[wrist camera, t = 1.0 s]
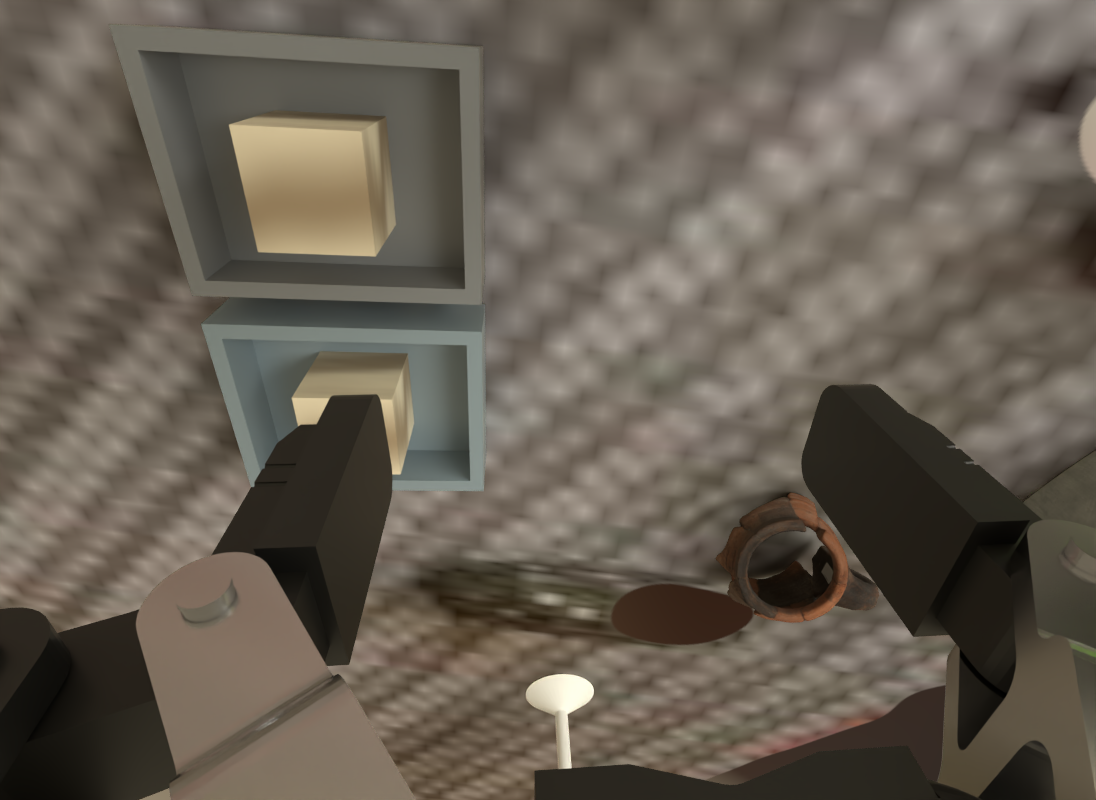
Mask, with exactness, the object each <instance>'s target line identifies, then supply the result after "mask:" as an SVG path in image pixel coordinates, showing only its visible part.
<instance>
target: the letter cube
mask: <svg viewBox="0 0 1096 800" xmlns="http://www.w3.org/2000/svg"><path fill="white" fill-rule="evenodd" d="M364 394H377V395H378V396H379V398H380V401H381V405H382V410H383V416H384V422H385V428H386V434H387V440H388V446H389V452H390V458H391V465H392V474H401V471H402V468H403V464H404V460H405V456H406V452H407V448H408V445H409V441H410V437H411V433H412V429H413V426H414V415H413V404H412V393H411V382H410V371H409V360H408V353H373V352H334V351H320V353H319V354H318V356H317V358H316V359H315V361H314V362H313V364H312V366H311V367H310V369H309V370H308V372H307V374H306V375H305V377H304V379H303V380H302V382H301V383H300V385H299V387H298V388H297V390H296V391H295V393H294V395H293V396H292V402H293V406H294V410H295V415H296V419H297V423H298V426H299V425H304V424H317V422H318V420H319V418H320V416H321V414H322V412H323V410H324V409H325V407H326V405H327V403H328V401H329V399H330V397H331V396H333V395H364Z"/></svg>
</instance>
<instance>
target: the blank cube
mask: <svg viewBox="0 0 1096 800" xmlns="http://www.w3.org/2000/svg"><path fill="white" fill-rule="evenodd" d="M229 128H230V132H231V137H232V141H233V145H234V150H235V154H236V158H237V163H238V167H239V171H240V176H241V180H242V184H243V189H244V193H245V197H246V202H247V206H248V210H249V215H250V219H251V223H252V228H253V232H254V236H255V241H256V245H257V250H258V252H267V253H294V254H321V255H348V256H375V257H376V255H377V254H378V252H379V251H380V249H381V247H382V246H383V244H384V243H385V241H386V240H387V238H388V236H389V235H390V233H391V232H392V230H393V229H394V227H395V225H396V218H395V207H394V197H393V186H392V175H391V164H390V153H389V142H388V131H387V120H386V116H371V115H353V114H335V113H316V112H298V111H280V110H275V111H272V112H268V113H265V114H262V115H258V116H255V117H252V118H249V119H245V120H242V121H239V122H236V123H232V124H229Z"/></svg>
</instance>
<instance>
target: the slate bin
mask: <svg viewBox="0 0 1096 800" xmlns="http://www.w3.org/2000/svg"><path fill="white" fill-rule="evenodd" d="M201 326H202V329H203V332H204V335H205V339H206V342H207V345H208V348H209V352H210V355H211V358H212V361H213V365H214V368H215V371H216V374H217V378H218V381H219V384H220V387H221V391H222V394H223V397H224V400H225V404H226V407H227V410H228V413H229V417H230V420H231V423H232V426H233V430H234V433H235V436H236V439H237V442H238V446H239V449H240V452H241V455H242V459H243V462H244V465H245V468H246V472H247V475H248V478H249V481H250V485H251V487H254V482H255V480H256V478H257V477H258V475H259V473H260V472H261V470H262V469H265V463H266V461H267V460H268V458H269V456H270V455H271V453H272V451H273V449H274V448H275V446H276V444H277V443H278V442H279V441H280V440H282V439H283V438H284V437H285V436H287V435H288V434H289V433H291V432H292V431H293V430H294V429H296V428H297V427H298V423H297V419H296V415H295V410H294V406H293V402H292V396H293V395H294V393H295V391H296V390H297V388H298V387H299V385H300V383H301V382H302V380H303V379H304V377H305V375H306V374H307V372H308V370H309V369H310V367H311V366H312V364H313V362H314V361H315V359H316V358H317V356H318V354H319V353H320V351H334V352H373V353H408V360H409V371H410V382H411V393H412V404H413V415H414V426H413V429H412V433H411V437H410V441H409V445H408V448H407V452H406V456H405V460H404V464H403V468H402V471H401V474H392V490H418V491H484V477H485V463H486V371H485V304H482V305H466V304H434V303H402V302H370V301H339V300H307V299H275V298H244V297H230V298H229V299H228V300H227V301H226V302H225V303H223V304H222V305H221V306H220V307H219V308H218V309H217V310H216V311H215V312H214V313H212V314H211V315H210V316H209V317H208V318H207V319H206V320H205V321H204V322H203V323H202V324H201Z"/></svg>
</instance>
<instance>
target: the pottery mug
mask: <svg viewBox="0 0 1096 800" xmlns="http://www.w3.org/2000/svg"><path fill="white" fill-rule="evenodd" d="M814 505H815V504H814V503H813V502H811V501H810V500H809V499H808V498H806V497H804V496H801V495H798V494H796V493H789V494H788V496H787V498H786V497H780V498H778V499H776V500H773V501H770V502H768V503H766V504H764V505H762V506H760V507H758V508H756V509H754V510H752V511H751V512H750V513H748V514H747V515H745V516H743V517H742V518H741V519H740V525H741V527H735V528H733V530H732V532H731V534H730V536H729V539H728V542H727V544H726V546H725V548H724V550H723V551H722V552H721V553H720V554H718V555H717V557H716V560H717V561H718V562H719V563H720V564H721V565H722V566H723V567H724V568H725V569H726V570H727V571H728V572H729V573H730V574H731V576H732V581H731V582H730V584H729V590H728V592H727V593H728V595H729V596H730V597H731V598H732V599H733V600H734V601H735V602H738V603H741V604H743V605H745V606H748V607H750V608H754V609H755V611H754V614H755V615H757V616H760V617H762V618H765V619H770V620H776V621H783V622H803V621H804V620H806V621H809V620H813V619H815V618H817V617H820V616H822V615H824V614H825V613H827V612H828V611H830V610H831V609H832V608H833V607H834V606H839V607H843V608H848V609H851V610H869V609H871V608H873V607H875V605H876V603H877V599H878V597H879V592H878V587H877V586H876V584H874V583H873V582H872V581H871V580H870V579H868V578H867V577H865V576H863V575H861V574H859V573H857V572H856V571H854V570H852V569H850V568H849V566H848V564H847V559H846V555H845V553H844V551H843V548H842V547H841V545H840V543H839V541H838V539H837V537H836V535H835V534H834V532H833V530H832V529H831V528H830V527H829V526H828V525H827V524H826V523H825V522H824V521H823V520H822V519H821V518H819V517H818V516H817V512H816V509H815V506H814ZM805 526H807V527H809V528H811V529H812V530H814V531H815V532H816V534H817V537H818V539H819V540H820V541H821V542H822V543H823V544H824V545H825V546H826V547H825V546H821V547H820V548H819V549H818V551H817V553H816V554H815V555H814V557H813V558H812V563H813V576H811V575H810V574H809V573H808V572H807V571H806V570H804V569H803V567H802V566H801V564H800V563H799V562H797V561H794V562H793V563H792V564H791V565H790V566H789V567H788V568H787V569H785V570H784V571H783V572H781V573H780V574H777V575H774V576H772V577H770V578H766V579H754V578H749V577H748V566H749V561H750V558H751V556H752V553H753V552H754V550H755V549H756V548H757V547H758V545H760V544H761V543H762V542H763V541H765V540H766V539H767V538H769V537H771V536H773V535H775V534H778V533H780V532H786V531H801V532H805V531H806V527H805Z"/></svg>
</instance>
